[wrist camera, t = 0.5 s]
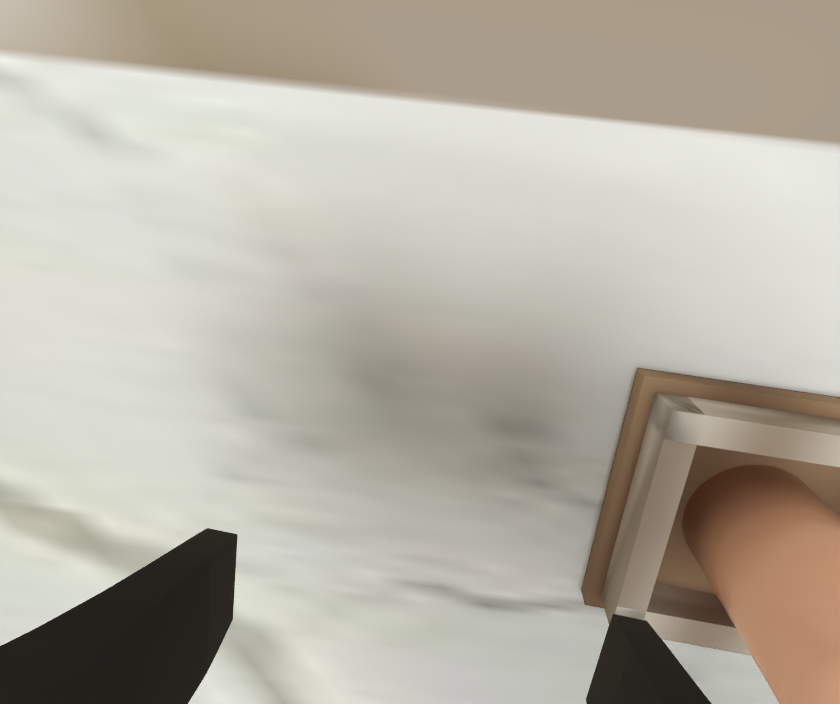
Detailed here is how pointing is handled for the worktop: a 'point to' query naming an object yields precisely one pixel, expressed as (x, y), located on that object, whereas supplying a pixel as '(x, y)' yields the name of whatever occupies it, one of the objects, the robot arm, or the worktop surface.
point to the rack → (680, 477)
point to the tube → (774, 574)
